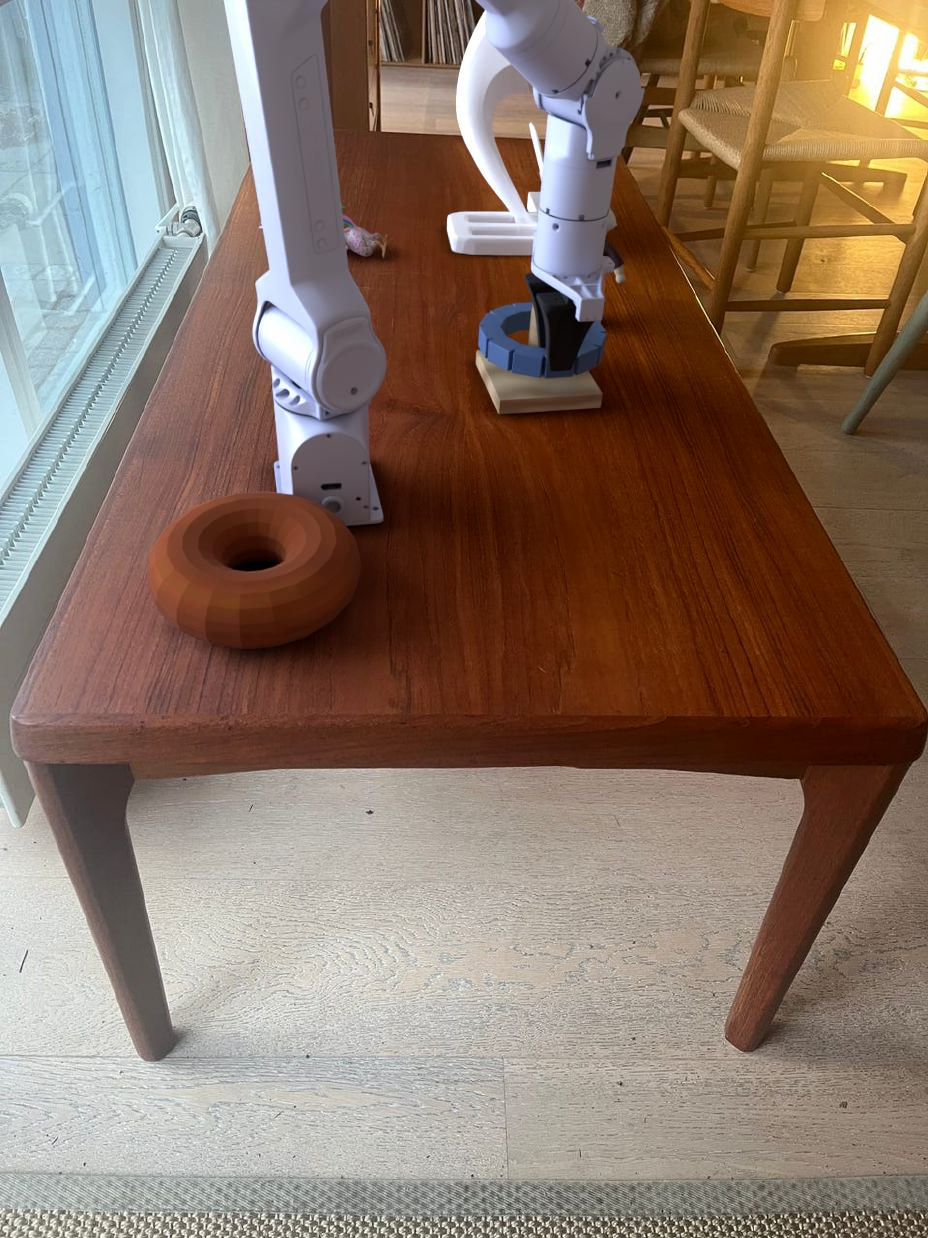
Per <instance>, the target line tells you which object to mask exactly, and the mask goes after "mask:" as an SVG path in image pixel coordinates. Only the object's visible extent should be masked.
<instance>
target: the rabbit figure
mask: <svg viewBox="0 0 928 1238" xmlns="http://www.w3.org/2000/svg"><path fill="white" fill-rule="evenodd" d="M341 207H342V210H343V209H345V208H346V206H344V205H342V204H341ZM342 216H343V225H344V226H348V227H346V228H344V234H345V243H346V251H348V250H350V251H352V252H353V253H356V254H358V255H360V256H361V257H364V258H365V257H366V258H368V257H370V256H372V255H373V253H374V251H375V249H376V248H377V246H379V247H380V248H381V251H382V254H381V255H382V258H383V259H385V254H386V251H387V250H386V249H387V241H388V239H387V237H388V234H386V235H385V236H383V235H382V234H381V233H380V232H375V233H369V231H367V230H366V229H365V228H363V227H361V226H357V225H356V224H355V223H354V222H353V220H352V219H351V218H350V217H349V216H348V215H346V214H343V213H342ZM258 229H260V230H261V229H262V230H263V227H262V221H261V222H260V226H259V227H258ZM378 239H381V240H382V243H383V244H382V243H381V242H380V241H379V240H378Z"/></svg>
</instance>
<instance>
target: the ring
mask: <svg viewBox="0 0 928 1238" xmlns="http://www.w3.org/2000/svg"><path fill="white" fill-rule="evenodd" d="M532 305H533V302H532V301H530V302H529V301H528V302H514V303H512V304H506V305H503V306H499V307H498V308H495V309H492V310H490V311H489V312H487V313H486V314H485V316H484V317H483V318H482V320H481V321H480V323H479V327H478V329H479V330H478V343H477V344H478V348H479V350H481V351H482V353H483V355H484V357H485V358H488V361H489V362H491V363H493V364H495V365H496V366H498V367H500V368H502V369H504V370H506V371H510V370H512V373H515V374H521V375H526V376H531V377H537V378H541V376H542V374H543V376H544V378H545V379H546V378H560V377H573V374H575V375H579V374H582V373H584V372H586V371H591V370H593V369H595V368H597V366H599V365H600V363H601V360H602V358H603V357H604V353H605V350H606V349H605V348H606V343H607V342H606V341H607V335H608V333H607V330H606V329H605V327H604V326H603V325H602V322H601V323H600V322H599V321H595V322H594V323H593V324H592V326H591V327H590V329H589V331H588V333H587V334H586V336H585V338H584V341H583V343H582V345H581V348H580V350H579V353H578V355H577V358H576V360H575V363H574V365H573V367H572V369H571V370H569V371H552V372H551V371H549V369H548V365H547V360H546V348H540V347H534V346H529V345H528V344H524V343H523V344H522V343H521V342H518V341H517V340H515V339H513V338H510V337H509V336H510V335H513V334H515V333H518V332H522V331H523V332H525V331H529V330H530V320H531V310H532Z"/></svg>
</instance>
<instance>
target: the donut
mask: <svg viewBox="0 0 928 1238" xmlns="http://www.w3.org/2000/svg"><path fill="white" fill-rule="evenodd" d="M252 562H269V563H270V562H271V563H275V564H276V565H275V566H273V567H269V568H266V569H262V570H251V571H246V570H238V569H234V568H236V567H238V566H240V565H241V566H242V565H245V564H248V563H252ZM361 572H362V564H361V557H360V551H359V546H358V544H357V540H356V537H355V536H354V535H353V533H352V532H351V531H350V529H349V528H348V526H346V525H345V524H344V522H343V521H342V520H341V519H339V518H338V517H337V516H336V515H335V514H333V513H332V512H330V511H329V510H327V509H326V508H324V507H323V506H321V505H320V504H318V503H316V502H313V501H311V500H308V499H305V498H302V497H299V496H296V495H292V494H284V493H277V492H275V491H267V490H263V491H248V492H235V493H231V494H228V495H223V496H219V497H215V498H211V499H208V500H206V501H204V502H202V503H200V504H197V505H195V506H193V507H191V508H189V509H187V510H185V511H183V512H182V513H181V514H180V515H179V516H177V517H176V518H174V520H173V521H171V522H170V523H169V524H168V525H166V527H164V529H163V530H162V532H161V533H160V535H159V536H158V538H157V540H156V541H155V543H154V545H153V546H152V548H151V550H150V551H149V555H148V565H147V575H146V576H147V578H146V585H147V588H148V591H149V592H150V594H151V597H152V599H153V601H154V603H155V606H156V608H157V609H158V611H159V613H160V615H161V616H162V617H164V618H165V619H166V620H167V621H168V622H169V623H171V624H172V625H173V626H174V627H175V628H176V629H178V630H179V631H180V632H182V633H184V634H186V635H187V636H189V637H193V638H195V639H198V640H200V641H203V642H205V643H208V644H210V645H213V646H216V647H217V646H218V647H225V648H233V649H239V650H251V649H252V650H253V649H263V648H274V647H276V648H277V647H280V646H282V645H286V644H290V643H292V642H295V641H299V640H301V639H305V638H307V637H309V636H310V635H313V633H316V632H317V631H318V630H320V629H322V628H325V626H327V625H329V624H330V623H331V622H332V621H334V620H335V619H336V618H337V616H338V615H339V614H341V612H342V611H343V610H344V609H345V608H346V607H347V605H348V604H349V603H350V602H351V601H352V600H353V596H354V595H355V591H356V589H357V585H358V582H359V580H360V576H361Z"/></svg>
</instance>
